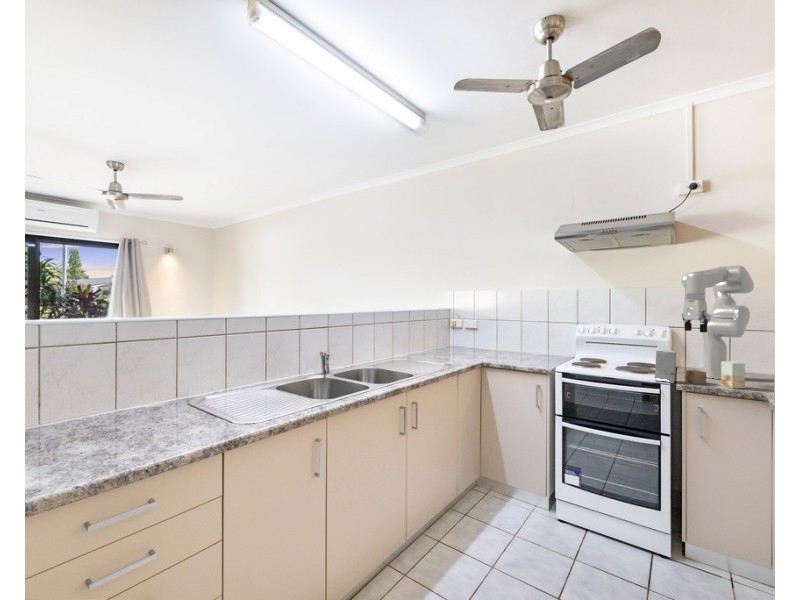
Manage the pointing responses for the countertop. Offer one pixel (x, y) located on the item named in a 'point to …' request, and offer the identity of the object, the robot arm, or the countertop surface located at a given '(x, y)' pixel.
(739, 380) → the oak block
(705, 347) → the robot arm
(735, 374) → the sage block
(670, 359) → the skincare box
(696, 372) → the walnut block
